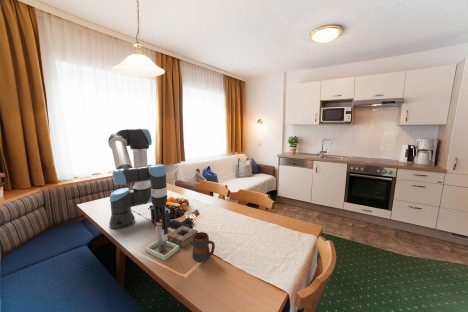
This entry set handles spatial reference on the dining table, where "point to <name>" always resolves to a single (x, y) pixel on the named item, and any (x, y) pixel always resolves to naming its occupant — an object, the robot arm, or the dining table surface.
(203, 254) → the mug
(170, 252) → the pale green rectangular frame
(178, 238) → the socket block
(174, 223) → the pipe connector
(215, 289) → the dining table surface
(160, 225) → the pin
